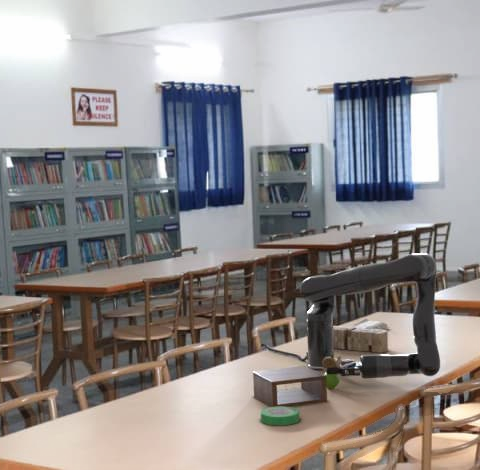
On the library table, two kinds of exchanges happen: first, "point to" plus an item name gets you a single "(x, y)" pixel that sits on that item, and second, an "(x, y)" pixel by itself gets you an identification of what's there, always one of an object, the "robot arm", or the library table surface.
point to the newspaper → (371, 325)
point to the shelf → (307, 394)
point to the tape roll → (280, 415)
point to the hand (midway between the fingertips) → (325, 368)
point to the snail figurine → (331, 379)
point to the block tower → (360, 339)
